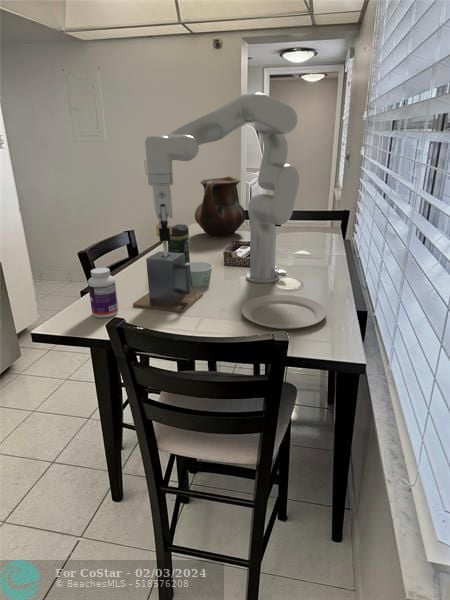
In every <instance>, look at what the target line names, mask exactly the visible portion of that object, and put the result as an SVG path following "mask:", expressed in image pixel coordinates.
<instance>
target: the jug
mask: <svg viewBox="0 0 450 600" xmlns="http://www.w3.org/2000/svg"><path fill="white" fill-rule="evenodd" d="M199 181H200V184H201V185H202V186H203V190H204V192H203V193H204V194H203V198H202V202H201V203H200V204H198V206H197V207H196V210H195V213H194V218H195V219H194V220H195V222H196V223H197V224H198V226H199V227H200V228H201V229H202V230H203V232H204V233H205V236H206V237H208V236H209V237H208V238H213V237H217V238H216V239H223V237H226V238H231V237H234V236H235V235H236V232H237V231H238V229H239V228H240V227H242V225H243V223H244V222H245V221H246V219H247V213H246V210H245V209H244V207H243V206H242V205H241V203H240V200H239V199H240V198H239V192H238V185H239V183H241V180H240V179H239V178H236V177H235V178H234V177H232V176H229V175H228V176H225V177H218V178H217V177H216V178H215V177H214V178H206V179H201V180H199ZM233 235H234V236H233ZM230 236H231V237H230Z"/></svg>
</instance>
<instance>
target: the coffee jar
mask: <svg viewBox="0 0 450 600" xmlns="http://www.w3.org/2000/svg"><path fill="white" fill-rule="evenodd" d="M171 228H172V235H170V241H167V252H174V253H185V264H186V263H190V261H191V259H190V257H191V256H190V249H189V248H190V246H189V244H190V243H189V240H190V239H189V238H190V237H189V236H190V232H189V226H187V225H186V224H181V223H177V224H175V225H173V226H171Z"/></svg>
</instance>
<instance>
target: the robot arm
mask: <svg viewBox="0 0 450 600" xmlns="http://www.w3.org/2000/svg"><path fill="white" fill-rule="evenodd" d="M250 123H252V124H254V127H255V128H256V130H257V132H258V133H259V135H260V136H261V139H262V142H263V143H262V144H263V150H262V157H261V158H262V159H261V162H260V163H261V164H260V167H259V171H258V176H257V182H258V183H257V184H258V186H259V187H260V188H261V189H263V190H266V191H270V192H273V194H269V193H257V194H255V195H254V196H252V197H251V198H250V200H249V202H248V205H247V214H248V218H249V226H250V240H249V241H250V247H249V249H250V250H249V252H250V253H249V255H250V256H249V257H250V259H249V261H250V263H249V265H250V266H249V267H250V269H249V272H247V273H246V274H245V278H246V280H247V281H250V282H251V283H252V282H253V283H258V284H269V283H274V282H277V281H278V280H280V277H284V278H286V277H287V271H285V270H284V269H279V268H278V265H276V256H277V255H276V253H277V228H276V225H278V226H279V225H280V226H282V225H284V224H286V223H288V222H289V220H290V219H291V217H292V215H293V212H294V208H295V204H296V198H297V195H298V194H297V193H298V191H299V185H300V174H299V172H298V169H297V168H296V167H295V166H294V165H292V164H289V163H287V159H288V158H287V157H288V154H289V153H288V152H289V144H288V141H287V138H286V135H287V134H290V133H291V132H293V131H294V130H295V128H297V124H298V115H297V112H296V111H295V109H294V108H293V107H292V106H291V105H289V104H287V103H284V102H283V101H280V100H279V99H277V98H274V97H272V96H270V95H268V94H266V93H262V92H251V93H244V94H239V95H238V96H236V97H235V98H233V99H231V100H229V101H227V102H226V103H224V104H223V105H221V106H219V107H218V108H216V109H214V110H212V111H211V112H209V113H206V114H204V115H202V116H201V117H198V118H197V119H195V120H193V121H192V120H191V121H190V122H187V123H186V124H183V125H182V126H180V127H178V128H177V129H175V130H173V131H172V132H170V133H168V134H167V135H149V136H147V137H145V141H144V146H145V157H146V158H145V159H146V171H147V184H148V186H150V187H151V186H152V195H153V205H154V206H153V207H154V211H155V216H156V218H157V219H158V224H159V225H160V228H159V236H158V237H159V241H160V242H163V241H167V242H168V241H170V229H169V224H170V223H169V218H170V219H172V218H173V206H172V205H173V204H172V203H173V202H172V192H171V191H172V190H171V189H172V188H171V186H172V185H174V172H173V161H179V162H190V161H192V160H194V159H196V157H197V155H198V154H199V150H200V145H204V144H208V143H213V142H217V141H220V140H223V139H225V138H226V137H228V136H230V135H231V134H233V133H234V132H236V131H238V130H239V129H240V128H242V127H243V126H246V125H247V124H250Z"/></svg>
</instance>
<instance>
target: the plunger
mask: <svg viewBox="0 0 450 600" xmlns="http://www.w3.org/2000/svg"><path fill="white" fill-rule="evenodd" d="M168 224H169V229H170V235H172V228H171V227H172V224H170V223H168ZM159 228H160V225H159V223H158V224H156V225H155V232H156V236H157V237H159ZM162 247H163V252H164V257H168V254H167V252H168V241H162Z"/></svg>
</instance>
